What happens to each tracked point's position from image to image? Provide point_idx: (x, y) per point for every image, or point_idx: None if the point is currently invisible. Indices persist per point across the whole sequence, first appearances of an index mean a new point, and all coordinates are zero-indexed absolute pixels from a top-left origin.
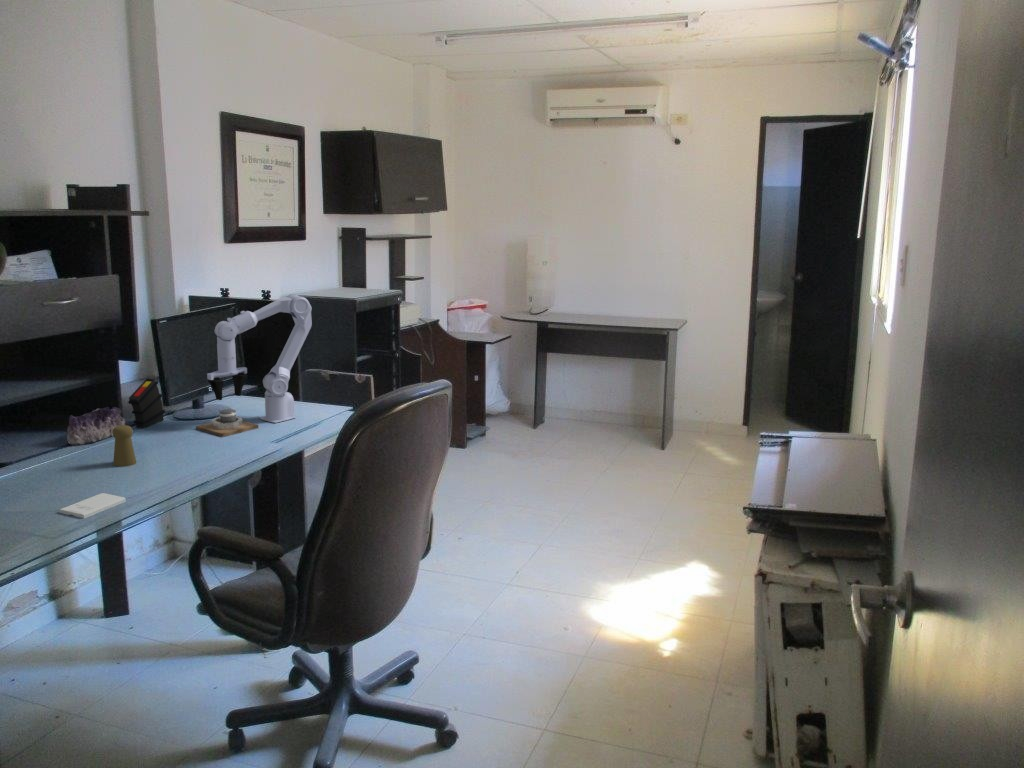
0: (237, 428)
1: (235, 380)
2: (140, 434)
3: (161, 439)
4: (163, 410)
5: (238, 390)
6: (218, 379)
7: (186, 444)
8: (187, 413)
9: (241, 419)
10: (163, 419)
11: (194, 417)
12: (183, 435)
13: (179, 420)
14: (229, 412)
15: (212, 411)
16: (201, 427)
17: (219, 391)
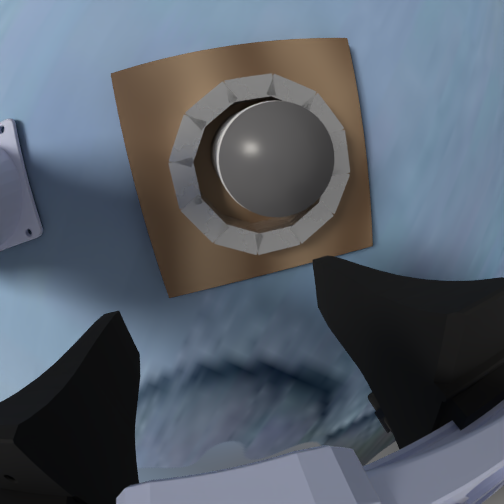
0: (240, 73)
1: (118, 462)
2: (483, 278)
3: (486, 187)
4: (384, 416)
5: (112, 349)
6: (473, 380)
7: (466, 72)
8: (269, 438)
9: (187, 118)
10: (370, 396)
11: (277, 397)
12: (435, 183)
13: (336, 381)
14: (287, 118)
15: (187, 433)
16: (367, 209)
17: (389, 273)
